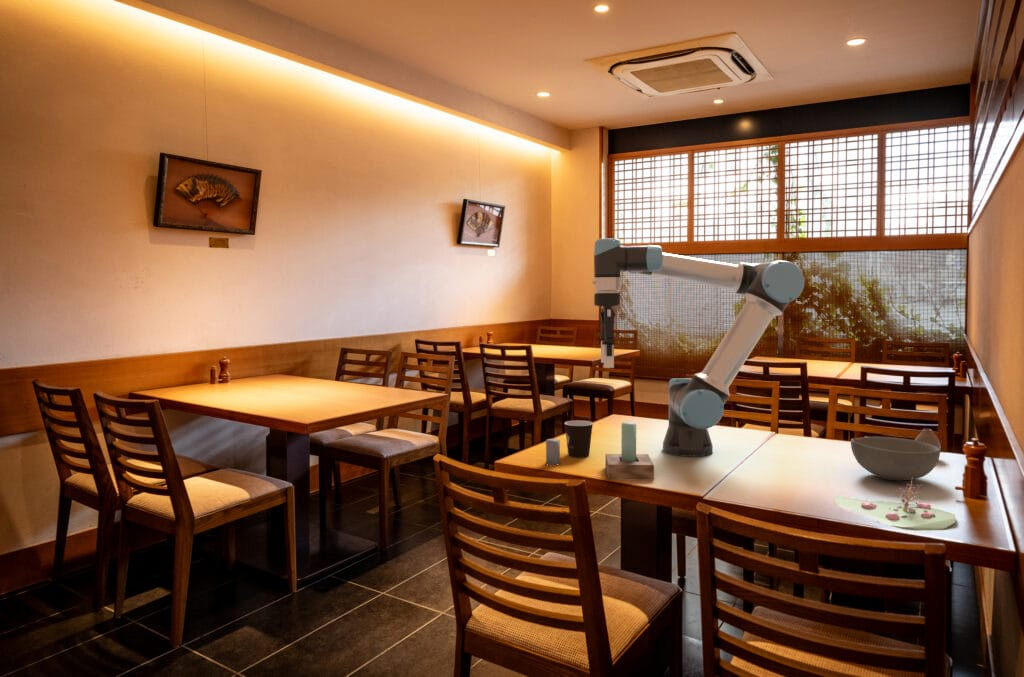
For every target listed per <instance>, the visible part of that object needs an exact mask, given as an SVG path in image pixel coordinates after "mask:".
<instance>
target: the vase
mask: <svg viewBox="0 0 1024 677" xmlns="http://www.w3.org/2000/svg"><path fill="white" fill-rule="evenodd" d="M933 431H934V430H932V429H930V428H923V429H922V430H921V432H920V433H919V434H918V435H917V436H916V437H915V438H914V440H916V441H920V442H924V443H927V444H931V445H933V446H936V447H938V448H939V450H940V452H941V449H942V447H941V442H940V439H939V438H938V436H937V435H936V434H935V432H933Z"/></svg>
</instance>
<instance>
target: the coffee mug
mask: <svg viewBox="0 0 1024 677" xmlns="http://www.w3.org/2000/svg"><path fill="white" fill-rule="evenodd" d="M593 425H594V423H593V421H589V420H568V421H565V422H564V429H565V430H564V431H565V439H566V448H567V456H568V457H571V458H576V459H580V458H581V459H583V458H587V457H589V456H590V453H591V452H590V450H591V442H592V434H593Z"/></svg>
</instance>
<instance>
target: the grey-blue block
mask: <svg viewBox="0 0 1024 677" xmlns="http://www.w3.org/2000/svg"><path fill="white" fill-rule="evenodd" d="M560 442H561V440H560V439H558V438H547V439H546V440H545V465H547V464H548V465H547V466H550V465H556V466H558V465H557V464H559V465H560V464H561V457H560V456H561V450H560V449H561V446H560V444H561V443H560Z"/></svg>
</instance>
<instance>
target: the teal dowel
mask: <svg viewBox="0 0 1024 677" xmlns="http://www.w3.org/2000/svg"><path fill="white" fill-rule="evenodd" d="M620 448H621V453H620V454H621V462H636V454H637V422H633V421H625V422H621V447H620Z"/></svg>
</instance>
